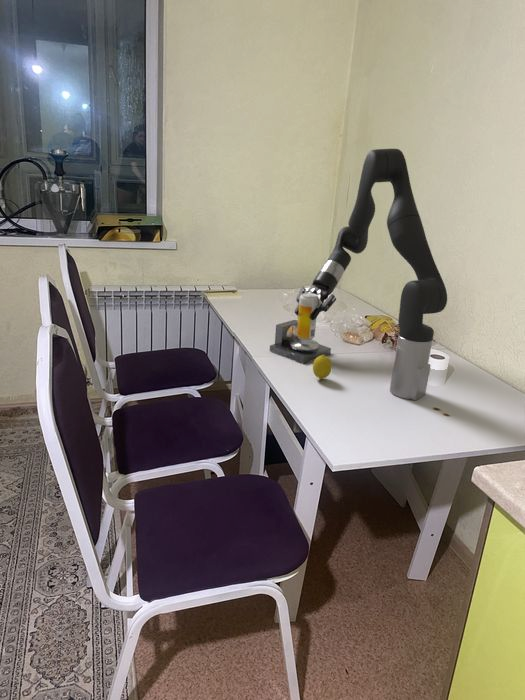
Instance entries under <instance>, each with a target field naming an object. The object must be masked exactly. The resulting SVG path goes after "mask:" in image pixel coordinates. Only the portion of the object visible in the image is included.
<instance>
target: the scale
mask: <svg viewBox="0 0 525 700" xmlns="http://www.w3.org/2000/svg"><path fill="white" fill-rule="evenodd" d="M297 326H298V319H291V320H288V321H285V322H281V323H278V324H275V333H274V343H273V344H269V352H271V353H274V354H277V355H279V356H282V357H284V358H287V359H290V360H292V361H294V360H295V361H294V362H296V363H297V362H298V363H301V364H302V363H303V364H306V362H307V363H309V362H312V361H315V360H314V359H316V358H317V357H318V356H321V355H325V356H328V355H331V352H332V348H331V347H329V346H326V345H323V344H320V343H319V348H318V349H317V350H314V351H300V350H296V349H293V348H291V347H290V341H291V340H293V339H299V338H298V336H297ZM311 360H312V361H311Z"/></svg>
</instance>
